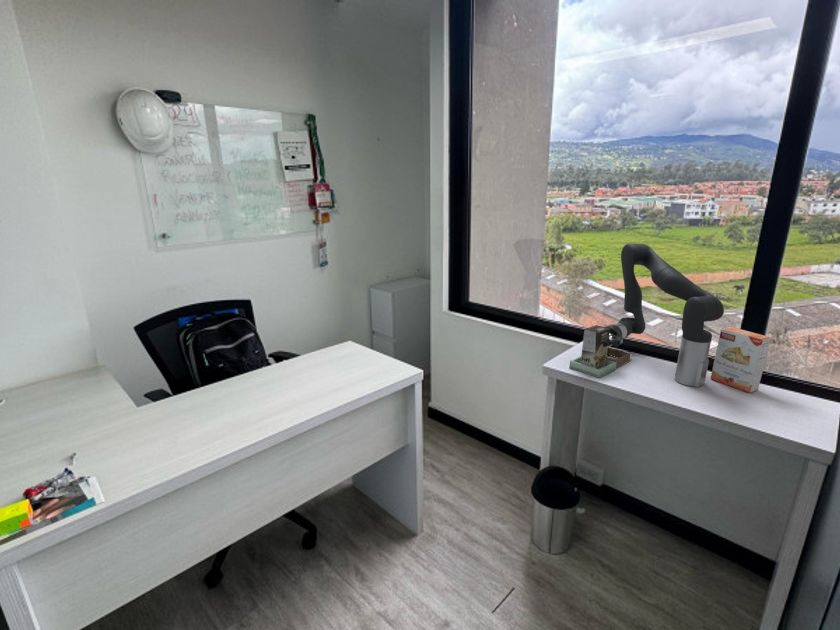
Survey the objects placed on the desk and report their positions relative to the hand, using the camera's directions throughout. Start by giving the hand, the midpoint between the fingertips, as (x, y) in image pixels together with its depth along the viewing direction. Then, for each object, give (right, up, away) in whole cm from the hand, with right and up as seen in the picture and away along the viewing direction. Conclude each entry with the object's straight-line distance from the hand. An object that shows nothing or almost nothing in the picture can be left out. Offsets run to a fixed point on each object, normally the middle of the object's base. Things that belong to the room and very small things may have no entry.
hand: (593, 341), depth 175 cm
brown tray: (+12, -9, +12) cm, 19 cm away
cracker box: (+48, -16, -10) cm, 52 cm away
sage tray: (+1, -11, +4) cm, 12 cm away
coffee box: (+1, -10, +4) cm, 11 cm away
